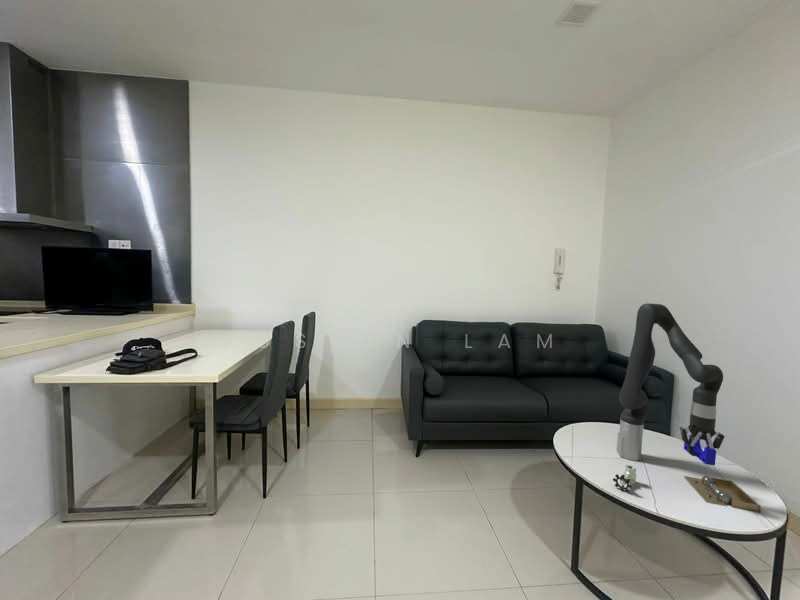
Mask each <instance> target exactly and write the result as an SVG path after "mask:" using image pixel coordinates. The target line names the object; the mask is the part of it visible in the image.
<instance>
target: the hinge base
mask: <svg viewBox="0 0 800 600" xmlns="http://www.w3.org/2000/svg"><path fill="white" fill-rule="evenodd" d="M683 478H684V479H685V480H686V482H688V484H690V486H691V487H692V488H693V489H694V491H696V493H698V495H699V496H700V497H701V498H702V499H703V500H704V502H705V503H710V504H714V505H715V504H716V505H719V506H720V505H721V506H726V505H727V506H730V507H731V508H736V509H740V510H745V511H751V512H755V513H761V509H762V506H761V505H760V504H759V503H758V502H757V501H756V500H754V499H753V498H752V497H751V495H749V494H748V493H747V492H746V491H744V490H743V489H742V488H741V487H740V486H738V484H737V483H735V482H734V481H733V480H730V479H726V478H720V477H712V476H709V475H704V476H702V478H700V477H699V478H698V477H693V476H687V475H684V477H683Z"/></svg>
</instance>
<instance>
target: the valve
mask: <svg viewBox="0 0 800 600" xmlns="http://www.w3.org/2000/svg"><path fill="white" fill-rule="evenodd" d="M623 473H624V474H621V475H620V476H619V474H615V475H614V476H615V477H613V478H612V481H613V482H615V484H614V488H618V487H619V490H621V491H620V492H624V490H625V492H626V493H629V492H630V490H631V489H632V488H633V486H635V485H636V480H637V468H636V467H635V466H633V465H629V464H627V465H625V469H624V472H623ZM631 484H633V485H631ZM625 485H626V486H625Z"/></svg>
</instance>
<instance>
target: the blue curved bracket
mask: <svg viewBox="0 0 800 600" xmlns="http://www.w3.org/2000/svg"><path fill="white" fill-rule="evenodd" d="M690 435H691V434H690ZM690 435H688V439H689V438H690ZM706 447H707V446H706ZM706 447H704V448H702V445H701V440H699V439H698V441H697V442H696V443H695V445H694V455H691V454H690V453H689V452H688V444H686V443H685V442H684V441H683V450H684V451H686V452H687V453H688V454H689V455H691V456H692V457H697V459H699V460H700V461H701V462H702V463H703V464H704V465H707V466H708V465H709V466H714V467H715V466H716V460H717V459H716V458H717V449H716V448H715V449H713V448H706Z"/></svg>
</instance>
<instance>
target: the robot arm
mask: <svg viewBox="0 0 800 600" xmlns="http://www.w3.org/2000/svg"><path fill="white" fill-rule="evenodd" d="M656 324H657V325H658V326H659V327H661V329H662V330H663V331H664V332H665V333H666V336H667V338H668V341H669V346H670V347H671V349H672V350H673V351H674V353H675V354H676V355H677V356H678V357H679V359H680V360H681V361H682V362H683V365H684V367H685V369H686V371H687V373H688V375H689V376H690V377H691V378H692V380H694V381H695V382H697V383H700V384H699V385H698V386H696V387H695V388H693V390H692V400H691V401H692V402H691V404H690V410H689V411H690V412H689V413H690V415H689V425H688V427H682V426H680V427H679V432H680V435H681V440H682V441H683V443H684V442H685V443H686V444H688V452H689V453H690V454H691V456H692V455H694V445H695V443H696V442H697V441H698V439H699V440H700V441H701V440H703V441H704V442H705V445H706V448H713V449H715V450H719V449H720V448H721V445H722V444H723V441H724V439H725V435H724V434H722V432H717V431H716V430H715V428H716V420H717V396H718V393H719V391H720V389H721V386H722V384H723V381H724V373H723V371H722V369H721V368H720V367H719V366H718V365H716V364H704V363H703V362H702V361H701V360H702V359H703V354H702V352H701V351H700V350H699V349H698V347H696V345H695V344H694V343H693V342H692V341H691V340H690V338H688V336H687V335H686V334H685V333H684V330H682V328H681V326H680V325H679V323H678V322H677V320H676V319H675V317H674V316H673V314H672V313H671V311H670V310H669V308H668V307H666V305H664V304H661V303H643V304H641V305H640V306H639V308H638V310H637V313H636V320H635V332H634V335H633V336H634V337H633V341H632V342H633V343H632V346H631V348H630V349H631V350H630V354H629V359H628V362H627V364H628V365H627V369H626V372H625V373H626V374H625V377H624V381H623V383H622V386H621V388H620V392H619V395H618V399H619V402H620V405H621V406H622V407H623V408H624V409H623V411H622V412H621V414H620V420H619V422H620V423H619V432H618V433H617V441H616V452H617V454H618V455H619V457H620V458H624V459H627V460H630V461H638V462H639V461H641V459H642V451H643V450H642V449H643V448H642V447H643V438H644V437H643V435H644V426H645V425H644V423H645V420H646V418H647V411H648V405H649V403H648V402H649V400H648V398H649V397H648V396H647V394H646V392H645V391H644V390H643V389H642V386H643V384H644V381H645V379H646V378H647V376H648V375H649V373H650V372H651V370H652V368H653V366H654V362H655V357H656V349H655V345H654V341H653V339H652V333H653V329H654V325H656ZM689 432H690V438H689V436H688V433H689ZM713 437H714V439H713V441H712V438H713ZM688 452H687V453H688ZM689 453H688V454H689ZM690 454H689V455H690Z"/></svg>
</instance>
